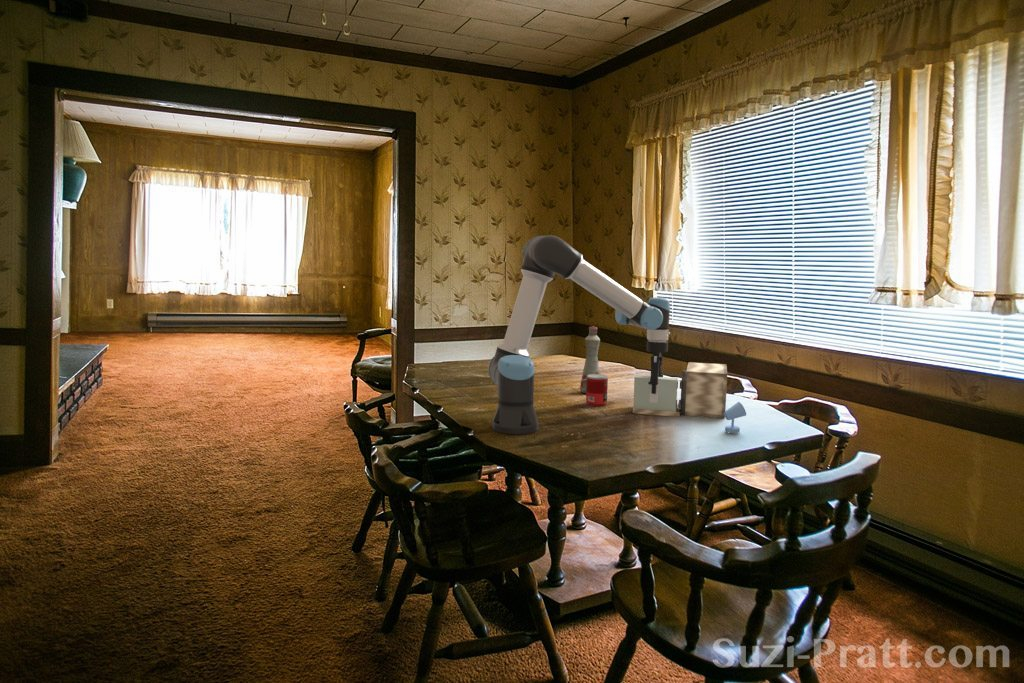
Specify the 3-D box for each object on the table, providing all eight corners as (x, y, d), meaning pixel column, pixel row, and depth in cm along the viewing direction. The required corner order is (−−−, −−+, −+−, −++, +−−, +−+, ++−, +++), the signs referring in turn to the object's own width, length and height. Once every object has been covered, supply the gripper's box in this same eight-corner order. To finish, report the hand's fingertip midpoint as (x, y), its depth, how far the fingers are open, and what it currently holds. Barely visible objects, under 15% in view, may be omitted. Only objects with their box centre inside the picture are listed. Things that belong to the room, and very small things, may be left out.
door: (633, 412, 242) (634, 377, 240) (634, 409, 245) (635, 375, 244) (676, 415, 237) (677, 380, 235) (676, 413, 241) (678, 378, 239)
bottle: (591, 395, 268) (593, 327, 265) (575, 392, 275) (576, 325, 271) (605, 393, 274) (607, 326, 270) (589, 389, 281) (591, 324, 277)
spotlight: (740, 429, 219) (720, 430, 218) (742, 400, 217) (721, 400, 217) (747, 433, 214) (726, 434, 213) (748, 403, 212) (728, 403, 212)
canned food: (608, 406, 250) (609, 377, 249) (587, 406, 250) (587, 377, 249) (605, 402, 258) (606, 374, 256) (585, 401, 258) (585, 373, 256)
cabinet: (632, 413, 240) (634, 369, 238) (640, 398, 264) (641, 359, 262) (725, 420, 231) (727, 375, 229) (724, 405, 255) (726, 364, 252)
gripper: (665, 345, 225) (663, 406, 228) (670, 337, 249) (668, 392, 251) (643, 344, 227) (641, 404, 230) (650, 336, 251) (648, 391, 254)
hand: (655, 398), depth 241 cm, fingers open, 13 cm apart
